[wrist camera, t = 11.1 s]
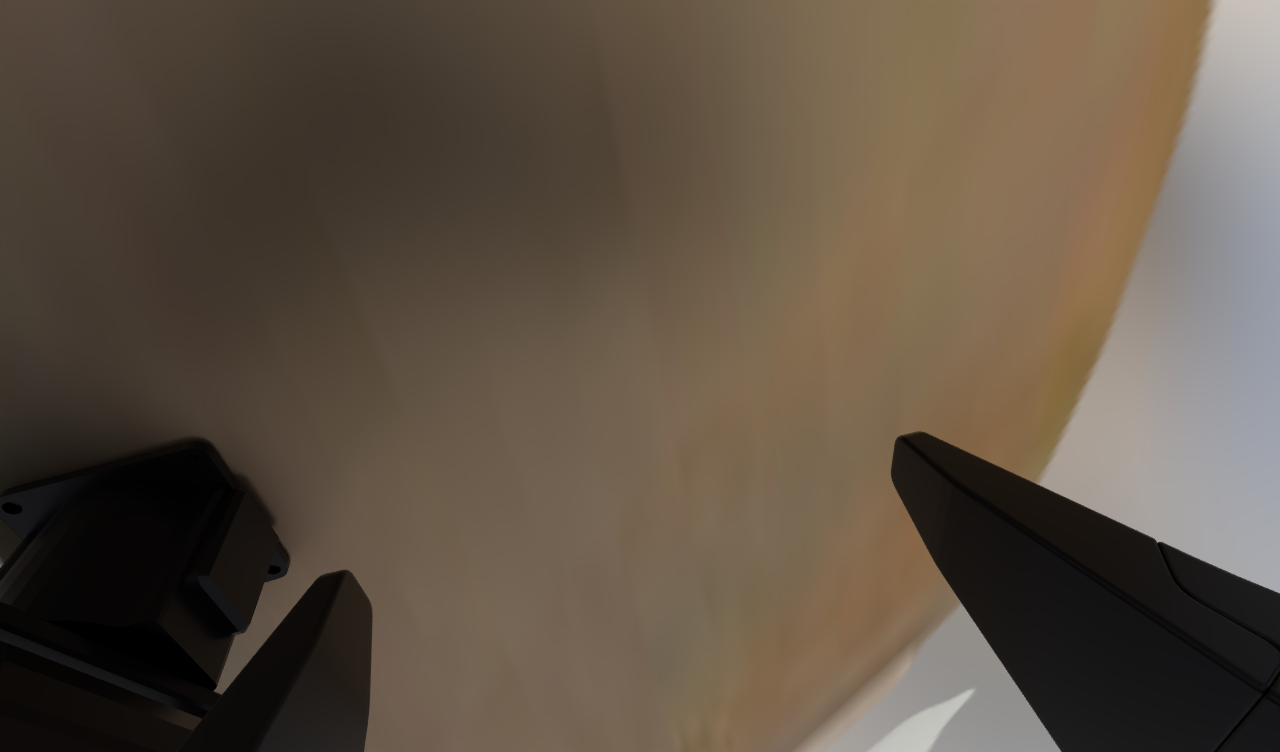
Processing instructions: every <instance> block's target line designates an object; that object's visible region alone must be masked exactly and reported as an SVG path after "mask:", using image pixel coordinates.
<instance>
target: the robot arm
mask: <svg viewBox="0 0 1280 752" xmlns="http://www.w3.org/2000/svg"><path fill="white" fill-rule="evenodd" d="M190 455H197V456H200V457H201V458H202V459H200V460H198V459H194V458H192V457H191V456H190ZM891 477H892V481H893V484H894V486H895V488H896V490H897V492H898V494H899V496H900V498H901V500H902V502H903V504H904V506H905V507H906V509H907V511H908V513H909V515H910V517H911V519H912V521H913V523H914V525H915V526H916V528H917V530H918V532H919V534H920V536H921V538H922V540H923V542H924V544H925V545H926V547H927V549H928V551H929V553H930V555H931V556H932V558H933V560H934V562H935V564H936V565H937V567H938V568H939V570H940V571H941V573H942V575H943V576H944V578H945V579H946V581H947V582H948V584H949V585H950V587H951V588H952V590H953V591H954V593H955V594H956V596H957V597H958V599H959V600H960V602H961V603H962V604H963V606H964V607H965V609H966V610H967V612H968V613H969V615H970V616H971V618H972V619H973V621H974V622H975V624H976V625H977V627H978V628H979V630H980V631H981V633H982V634H983V636H984V637H985V639H986V640H987V642H988V643H989V645H990V646H991V648H992V649H993V650H994V652H995V654H996V655H997V657H998V658H999V660H1000V661H1001V662H1002V664H1003V665H1004V667H1005V668H1006V670H1007V671H1008V673H1009V674H1010V676H1011V677H1012V679H1013V680H1014V682H1015V683H1016V685H1017V686H1018V688H1019V689H1020V691H1021V692H1022V694H1023V695H1024V697H1025V698H1026V700H1027V701H1028V702H1029V704H1030V705H1031V707H1032V709H1033V710H1034V712H1035V713H1036V715H1037V716H1038V718H1039V719H1040V721H1041V722H1042V723H1043V725H1044V726H1045V728H1046V729H1047V731H1048V732H1049V734H1050V735H1051V737H1052V738H1053V740H1054V741H1055V743H1056V744H1057V746H1058V747H1059V749H1060V750H1061V752H1280V593H1277V592H1275V591H1273V590H1270V589H1268V588H1265V587H1263V586H1260V585H1258V584H1256V583H1253V582H1250V581H1248V580H1246V579H1243V578H1241V577H1238V576H1236V575H1234V574H1231V573H1229V572H1227V571H1225V570H1223V569H1220V568H1218V567H1216V566H1213V565H1211V564H1209V563H1207V562H1205V561H1202V560H1200V559H1198V558H1196V557H1193V556H1191V555H1189V554H1187V553H1185V552H1182V551H1180V550H1178V549H1176V548H1174V547H1171V546H1169V545H1167V544H1165V543H1163V542H1158V543H1157V541H1156V540H1155V539H1154V538H1152V537H1150V536H1148V535H1145V534H1143V533H1141V532H1139V531H1137V530H1135V529H1133V528H1130V527H1128V526H1126V525H1124V524H1122V523H1120V522H1117V521H1115V520H1113V519H1111V518H1109V517H1107V516H1104V515H1102V514H1100V513H1098V512H1095V511H1094V510H1091V509H1089V508H1087V507H1085V506H1083V505H1081V504H1078V503H1076V502H1074V501H1072V500H1070V499H1068V498H1066V497H1063V496H1061V495H1059V494H1057V493H1055V492H1053V491H1050V490H1048V489H1046V488H1044V487H1042V486H1040V485H1038V484H1035V483H1033V482H1031V481H1029V480H1027V479H1025V478H1022V477H1020V476H1018V475H1016V474H1014V473H1012V472H1010V471H1007V470H1005V469H1003V468H1001V467H999V466H997V465H994V464H992V463H990V462H988V461H986V460H984V459H981V458H979V457H977V456H975V455H973V454H971V453H969V452H966V451H964V450H962V449H960V448H958V447H956V446H953V445H951V444H949V443H947V442H945V441H943V440H940V439H938V438H936V437H934V436H932V435H930V434H928V433H925V432H921V431H918V432H913V433H909V434H905V435H901V436H899V437H898V438H897V439H896V441H895V445H894V452H893V459H892V467H891ZM11 502H13V503H17V504H19V505H20V506H18V505H15V504H13V503H11ZM0 518H1V519H2V520H3V521H4V522H5V523H6V524H7V525H8V526H9V527H10V528H11V529H12V530H13V531H14V532H15V533H16V534H17V535H18V536H19V537H20V538H21V539H22V540H23V541H22V542H21V543H20V545H19V546H18V547H17V548H16V550H15V551H14V552H13V553H12V554H11V556H10V557H9V558H8V559H7V561H6V562H5V563H4V564H3V565H2V567H1V568H0V752H364V747H365V740H366V733H367V726H368V717H369V706H370V682H371V649H372V607H371V603H370V601H369V599H368V597H367V595H366V594H365V592H364V591H363V589H362V588H361V586H360V584H359V583H358V581H357V580H356V578H355V577H354V575H353V574H352V573H351V572H350V571H349V570H340V571H336V572H332V573H328V574H324V575H322V576H320V577H319V578H317V579H316V580H315V582H314V583H313V584H312V585H311V587H310V588H309V589H308V590H307V591H306V593H305V594H304V595H303V596H302V598H301V599H300V600H299V601H298V602H297V604H296V605H295V606H294V607H293V609H292V610H291V611H290V612H289V613H288V615H287V616H286V617H285V618H284V620H283V621H282V622H281V623H280V624H279V626H278V627H277V628H276V629H275V631H274V632H273V633H272V634H271V635H270V637H269V638H268V639H267V640H266V642H265V643H264V644H263V645H262V646H261V648H260V649H259V650H258V651H257V653H256V654H255V655H254V656H253V657H252V659H251V660H250V661H249V662H248V664H247V665H246V666H245V667H244V668H243V670H242V671H241V672H240V673H239V675H238V676H237V677H236V678H235V680H234V681H233V682H232V683H231V684H230V686H229V687H228V688H227V689H226V691H225V692H224V693H223V694H220V693H217V692H215V691H213V690H215V689H216V687H217V685H218V682H219V679H220V676H221V674H222V671H223V668H224V665H225V662H226V660H227V657H228V654H229V651H230V648H231V645H232V643H233V640H234V637H235V635H238V634H241V633H245V631H246V630H247V628H248V626H249V625H250V623H251V620H252V617H253V614H254V611H255V608H256V605H257V602H258V599H259V596H260V593H261V590H262V587H263V584H264V582H268V581H271V580H275V579H278V578H281V577H283V576H285V575H286V573H287V571H288V568H289V565H290V559H289V557H288V555H287V554H286V553H285V551H284V550H283V548H282V547H281V545H280V544H279V542H278V540H279V538H278V536H277V534H276V533H275V531H274V530H273V528H272V527H271V526H270V524H269V523H268V521H267V520H266V518H265V517H264V515H263V514H262V512H261V511H260V510H259V508H258V507H257V505H256V504H255V502H254V501H253V499H252V498H251V496H250V495H249V494H248V492H246V491H245V490H243V489H242V488H240V486H239V485H238V483H237V482H236V480H235V479H234V478H233V476H232V475H231V473H230V472H229V470H228V469H227V467H226V466H225V465H224V463H223V462H222V460H221V459H220V457H219V456H218V455H217V453H216V452H215V450H214V449H213V448H212V447H211V446H210V445H208V444H206V443H203V442H197V441H196V442H189V443H185V444H181V445H177V446H173V447H169V448H165V449H161V450H158V451H154V452H150V453H146V454H142V455H138V456H134V457H130V458H126V459H123V460H119V461H115V462H111V463H107V464H103V465H99V466H95V467H91V468H88V469H84V470H80V471H76V472H72V473H68V474H64V475H60V476H56V477H53V478H49V479H45V480H41V481H37V482H33V483H29V484H25V485H21V486H18V487H14V488H10V489H7V490H5V491H3V492H2V493H1V494H0ZM271 565H277V566H276V567H275V566H271Z"/></svg>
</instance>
